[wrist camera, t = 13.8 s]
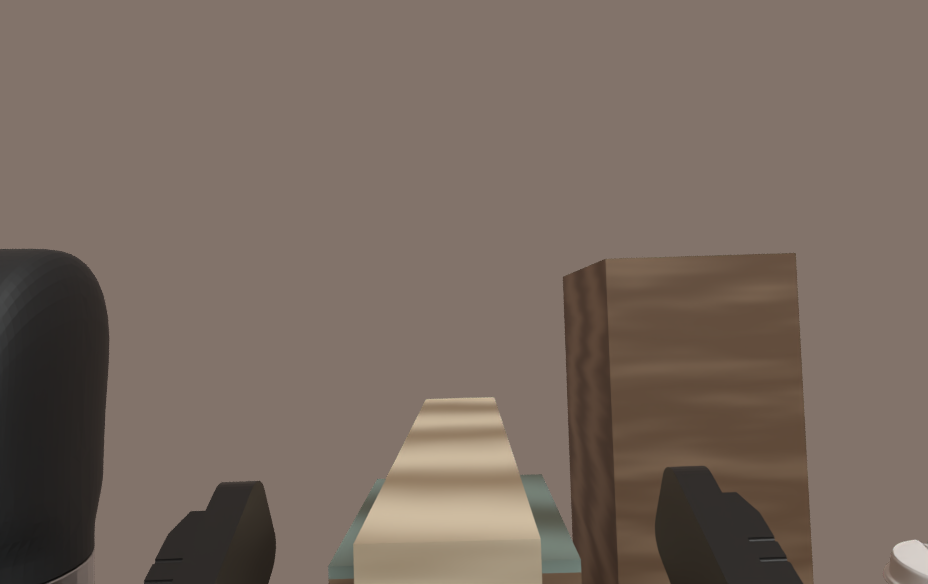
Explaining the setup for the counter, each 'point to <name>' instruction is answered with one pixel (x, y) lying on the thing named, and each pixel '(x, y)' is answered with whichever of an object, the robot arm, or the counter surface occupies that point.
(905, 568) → the coffee cup
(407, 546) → the slat
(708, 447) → the wooden block stacks
